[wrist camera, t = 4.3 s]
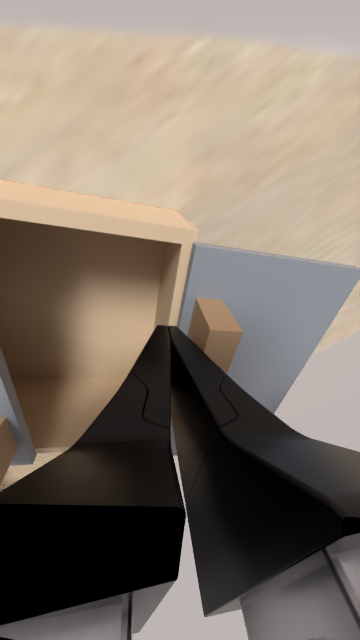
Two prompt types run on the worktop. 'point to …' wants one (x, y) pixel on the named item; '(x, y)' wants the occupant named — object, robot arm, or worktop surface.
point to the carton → (82, 299)
